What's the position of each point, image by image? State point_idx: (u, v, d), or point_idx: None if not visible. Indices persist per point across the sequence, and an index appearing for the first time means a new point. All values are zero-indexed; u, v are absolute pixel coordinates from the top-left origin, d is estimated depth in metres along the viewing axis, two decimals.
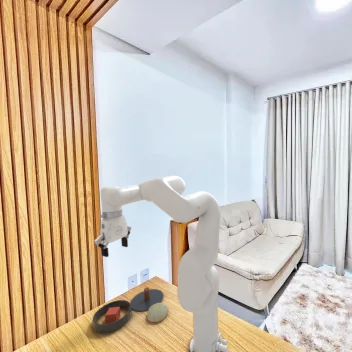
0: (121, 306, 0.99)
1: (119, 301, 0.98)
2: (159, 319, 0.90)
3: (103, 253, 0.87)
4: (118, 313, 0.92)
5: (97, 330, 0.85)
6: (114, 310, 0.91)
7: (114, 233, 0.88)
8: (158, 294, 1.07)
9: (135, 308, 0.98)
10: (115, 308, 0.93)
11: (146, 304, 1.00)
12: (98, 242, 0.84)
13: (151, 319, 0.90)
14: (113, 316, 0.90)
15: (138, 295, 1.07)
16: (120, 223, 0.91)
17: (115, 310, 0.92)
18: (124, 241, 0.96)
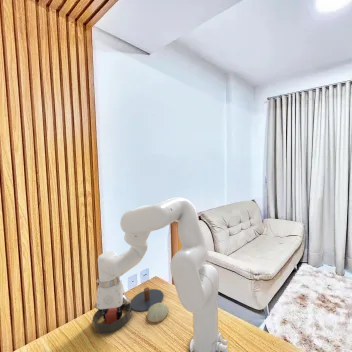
0: None
1: None
2: (159, 319, 0.90)
3: None
4: None
5: (97, 330, 0.85)
6: (114, 310, 0.91)
7: (103, 302, 0.88)
8: (158, 294, 1.07)
9: (135, 308, 0.98)
10: (115, 308, 0.93)
11: (146, 304, 1.00)
12: (96, 307, 0.90)
13: (151, 319, 0.90)
14: (113, 316, 0.90)
15: (138, 295, 1.07)
16: (110, 293, 0.88)
17: (115, 310, 0.92)
18: None
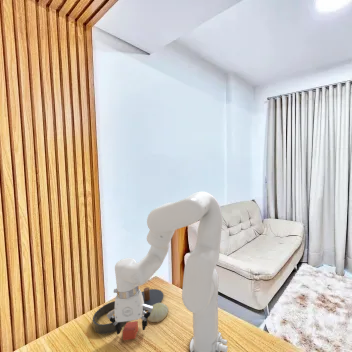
0: None
1: None
2: (159, 319, 0.90)
3: None
4: (136, 328, 0.85)
5: (97, 330, 0.85)
6: (132, 326, 0.84)
7: (122, 314, 0.80)
8: (158, 294, 1.07)
9: None
10: (133, 323, 0.85)
11: None
12: (109, 316, 0.81)
13: (151, 319, 0.90)
14: (131, 332, 0.82)
15: None
16: (130, 304, 0.80)
17: (133, 325, 0.84)
18: None
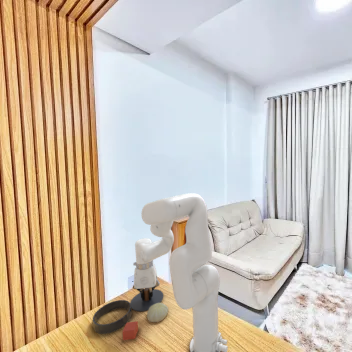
0: (121, 306, 0.99)
1: (119, 301, 0.98)
2: (159, 319, 0.90)
3: (141, 296, 1.03)
4: (136, 328, 0.85)
5: (97, 330, 0.85)
6: (132, 326, 0.84)
7: (140, 282, 1.00)
8: (158, 294, 1.07)
9: (135, 308, 0.98)
10: (133, 323, 0.85)
11: (146, 304, 1.00)
12: None
13: (151, 319, 0.90)
14: (131, 332, 0.82)
15: (138, 295, 1.07)
16: (146, 275, 1.00)
17: (133, 325, 0.84)
18: None
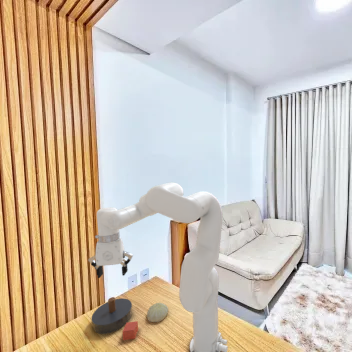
0: None
1: None
2: (159, 319, 0.90)
3: None
4: (136, 328, 0.85)
5: (97, 330, 0.85)
6: (132, 326, 0.84)
7: (102, 257, 0.85)
8: (126, 304, 0.95)
9: (96, 322, 0.85)
10: (133, 323, 0.85)
11: (110, 317, 0.88)
12: (91, 261, 0.86)
13: (151, 319, 0.90)
14: (131, 332, 0.82)
15: (103, 306, 0.94)
16: (110, 249, 0.85)
17: (133, 325, 0.84)
18: None
